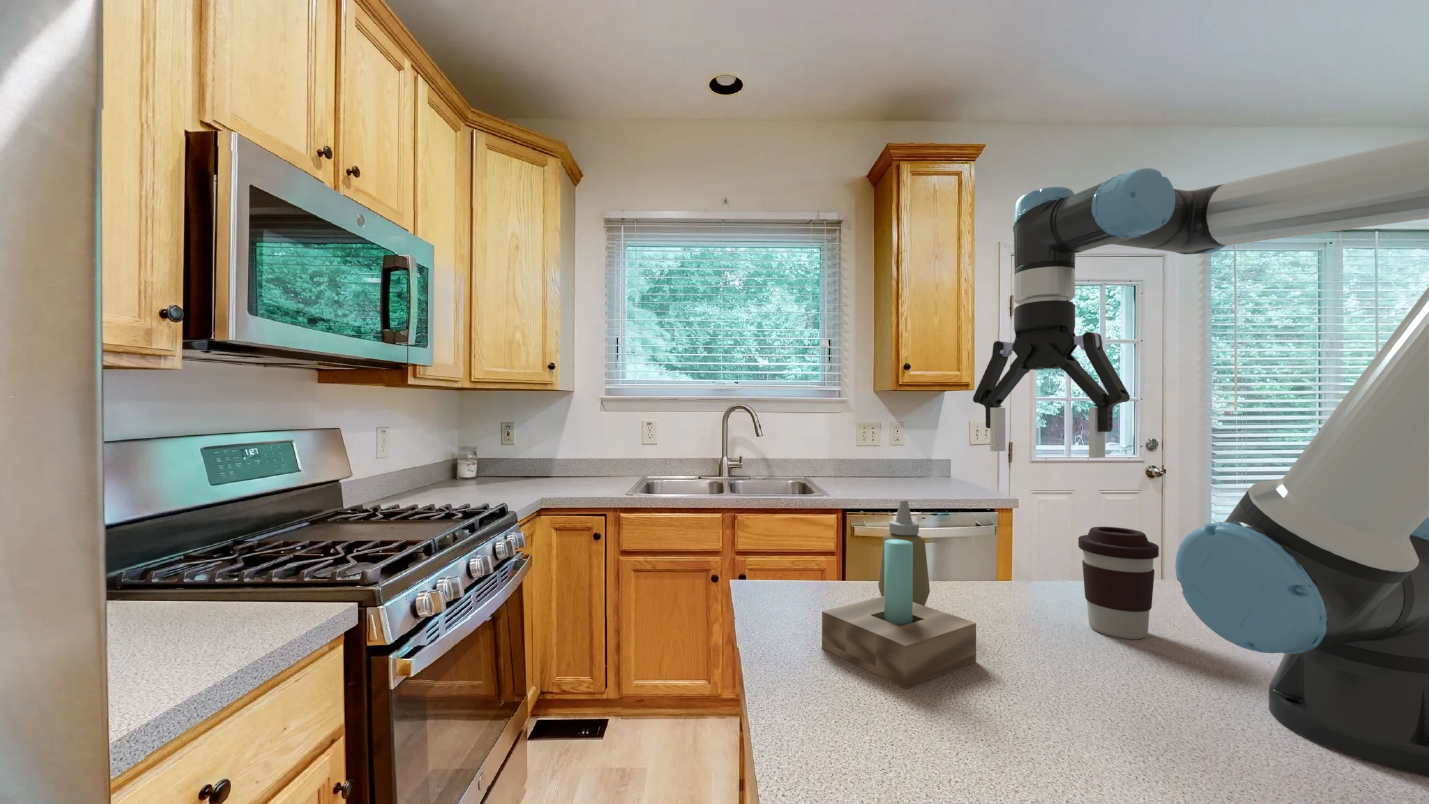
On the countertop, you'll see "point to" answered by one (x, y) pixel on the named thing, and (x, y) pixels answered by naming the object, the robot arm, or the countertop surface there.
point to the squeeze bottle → (908, 532)
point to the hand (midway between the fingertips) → (1044, 454)
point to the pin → (898, 582)
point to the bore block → (899, 641)
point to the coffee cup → (1118, 580)
